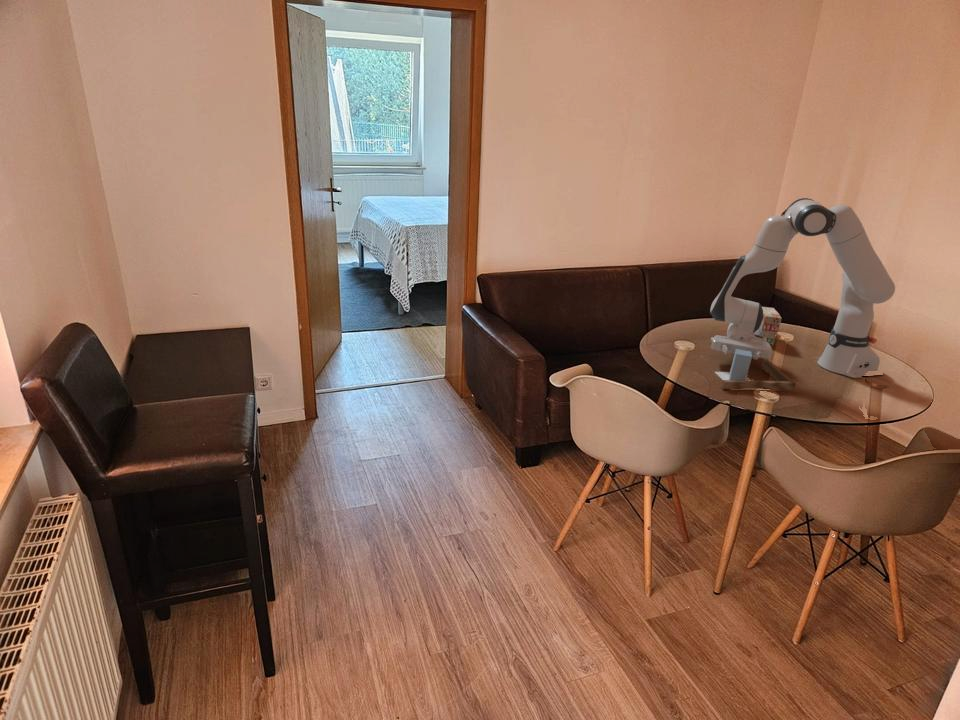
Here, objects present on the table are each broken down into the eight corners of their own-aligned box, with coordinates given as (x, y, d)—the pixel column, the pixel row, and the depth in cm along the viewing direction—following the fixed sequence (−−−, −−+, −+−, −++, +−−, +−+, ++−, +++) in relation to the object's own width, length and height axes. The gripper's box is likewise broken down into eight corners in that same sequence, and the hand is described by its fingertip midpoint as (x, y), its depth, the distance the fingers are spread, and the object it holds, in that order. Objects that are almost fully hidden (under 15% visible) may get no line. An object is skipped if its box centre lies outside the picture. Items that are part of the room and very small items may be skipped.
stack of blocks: (746, 326, 265) (753, 299, 260) (761, 327, 264) (768, 301, 259) (757, 343, 246) (765, 315, 241) (773, 345, 245) (782, 317, 240)
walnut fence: (765, 367, 223) (767, 360, 222) (793, 391, 206) (796, 383, 205) (699, 366, 220) (701, 358, 219) (722, 389, 203) (725, 381, 202)
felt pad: (743, 373, 217) (743, 372, 217) (759, 386, 207) (759, 386, 207) (714, 372, 216) (714, 371, 216) (728, 386, 206) (729, 385, 206)
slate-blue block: (744, 377, 213) (751, 351, 209) (744, 383, 209) (752, 356, 204) (729, 374, 214) (735, 348, 210) (729, 380, 210) (736, 353, 206)
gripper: (712, 328, 227) (712, 341, 215) (771, 338, 221) (774, 351, 209) (709, 344, 230) (708, 357, 218) (766, 354, 224) (769, 368, 212)
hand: (741, 354), depth 213 cm, fingers open, 8 cm apart
